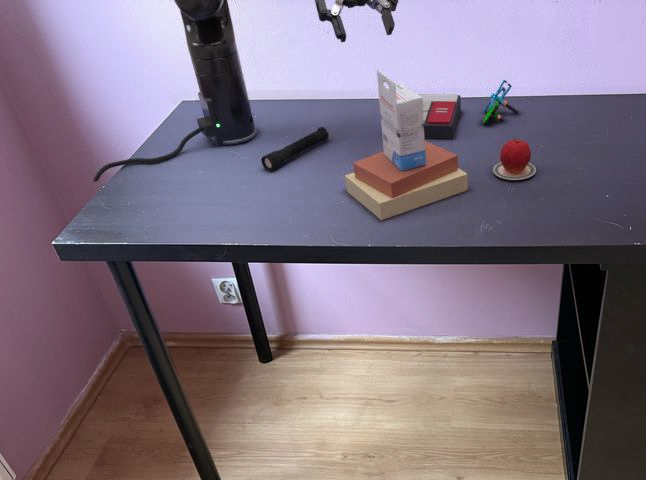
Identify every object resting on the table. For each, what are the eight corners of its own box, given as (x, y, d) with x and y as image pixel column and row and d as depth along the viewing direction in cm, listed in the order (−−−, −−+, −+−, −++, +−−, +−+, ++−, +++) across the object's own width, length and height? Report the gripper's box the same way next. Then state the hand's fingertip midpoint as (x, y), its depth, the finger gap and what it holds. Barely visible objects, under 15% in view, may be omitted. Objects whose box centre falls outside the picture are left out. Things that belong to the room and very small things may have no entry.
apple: (506, 159, 128) (507, 126, 124) (543, 169, 124) (545, 135, 120) (484, 175, 123) (485, 142, 119) (522, 186, 120) (523, 151, 115)
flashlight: (262, 169, 129) (259, 154, 127) (319, 139, 139) (317, 125, 137) (273, 172, 128) (270, 158, 126) (330, 141, 138) (328, 127, 136)
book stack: (381, 220, 112) (377, 188, 108) (346, 191, 121) (342, 160, 117) (467, 190, 119) (467, 158, 115) (428, 164, 128) (427, 134, 124)
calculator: (399, 121, 135) (411, 90, 146) (400, 140, 138) (412, 109, 149) (452, 122, 134) (460, 91, 144) (452, 141, 137) (461, 110, 147)
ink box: (427, 165, 114) (423, 78, 104) (401, 172, 112) (394, 84, 103) (408, 147, 120) (402, 63, 110) (382, 153, 118) (374, 69, 109)
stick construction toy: (487, 94, 148) (506, 70, 142) (512, 112, 150) (532, 89, 144) (472, 129, 142) (491, 106, 136) (499, 147, 144) (518, 125, 138)
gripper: (302, -61, 110) (330, 29, 110) (382, -70, 114) (409, 17, 114) (299, -31, 118) (326, 54, 117) (375, -41, 121) (401, 42, 121)
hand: (367, 36), depth 115 cm, fingers open, 8 cm apart
